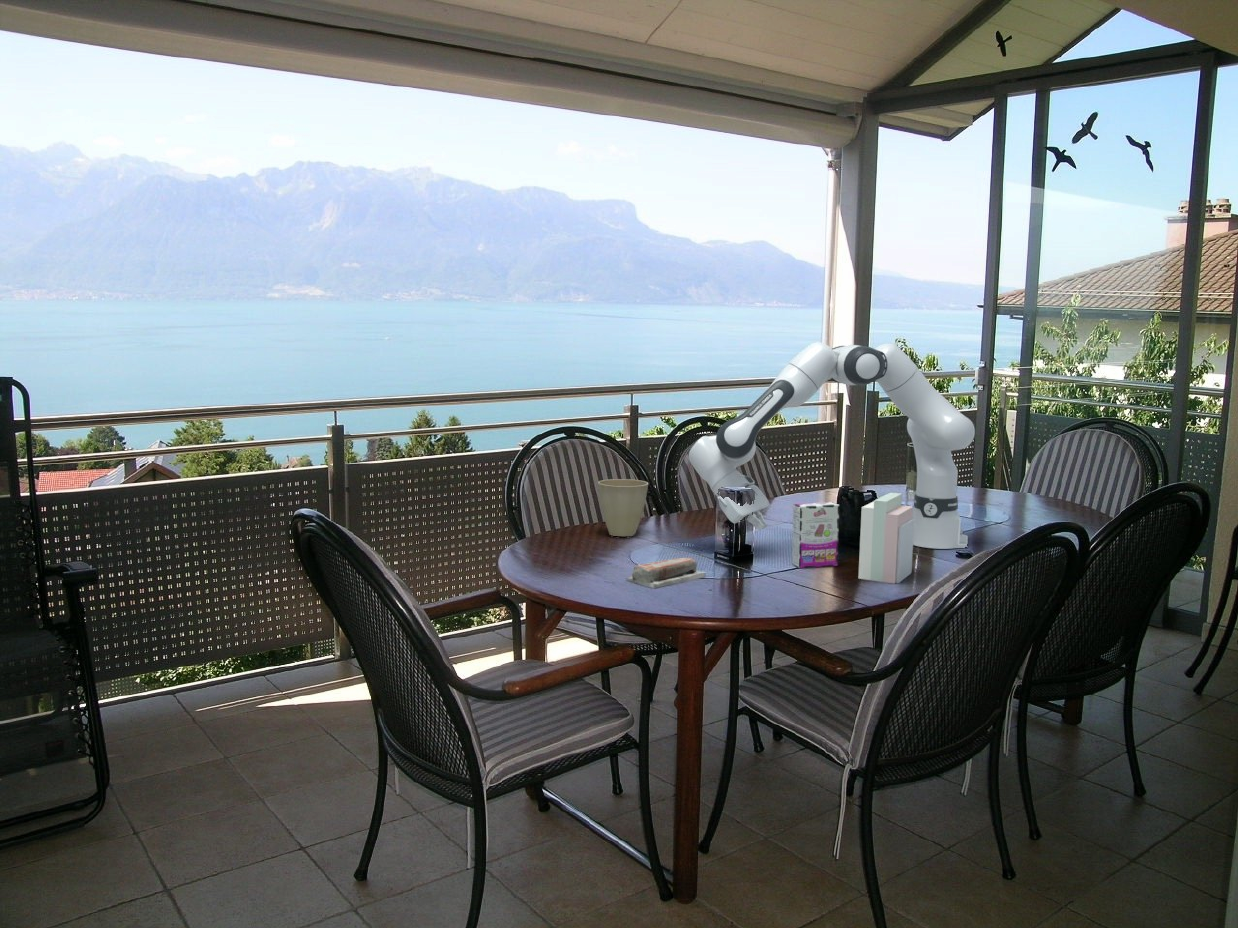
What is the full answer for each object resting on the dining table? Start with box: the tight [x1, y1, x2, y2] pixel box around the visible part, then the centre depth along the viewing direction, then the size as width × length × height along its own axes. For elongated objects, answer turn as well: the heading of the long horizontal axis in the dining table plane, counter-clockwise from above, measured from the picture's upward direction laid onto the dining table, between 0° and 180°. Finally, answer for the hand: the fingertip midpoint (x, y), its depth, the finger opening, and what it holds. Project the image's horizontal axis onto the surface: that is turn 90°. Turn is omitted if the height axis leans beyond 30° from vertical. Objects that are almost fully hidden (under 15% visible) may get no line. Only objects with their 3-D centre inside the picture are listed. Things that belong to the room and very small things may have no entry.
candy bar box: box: [791, 501, 840, 569], centre depth 252 cm, size 11×5×16 cm, turn 105°
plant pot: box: [597, 478, 649, 537], centre depth 287 cm, size 15×15×16 cm
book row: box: [857, 492, 914, 585], centre depth 242 cm, size 14×10×20 cm
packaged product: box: [625, 557, 707, 590], centre depth 238 cm, size 18×5×10 cm
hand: (763, 527), depth 260 cm, fingers closed
